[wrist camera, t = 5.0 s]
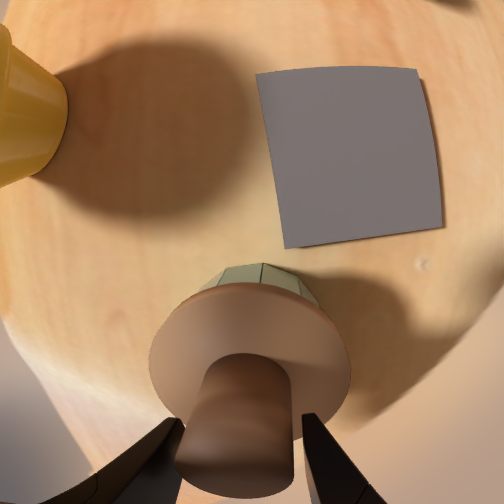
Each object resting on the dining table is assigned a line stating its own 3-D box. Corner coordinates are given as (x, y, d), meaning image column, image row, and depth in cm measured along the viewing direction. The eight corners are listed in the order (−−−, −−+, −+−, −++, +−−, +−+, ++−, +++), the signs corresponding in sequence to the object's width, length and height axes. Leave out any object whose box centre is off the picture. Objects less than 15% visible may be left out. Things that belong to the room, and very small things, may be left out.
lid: (342, 267, 9) (397, 347, 4) (343, 421, 11) (361, 508, 6) (134, 293, 10) (54, 364, 5) (186, 430, 12) (159, 509, 7)
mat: (409, 73, 11) (416, 69, 10) (434, 224, 12) (442, 226, 12) (256, 80, 12) (255, 74, 11) (284, 245, 13) (285, 249, 13)
